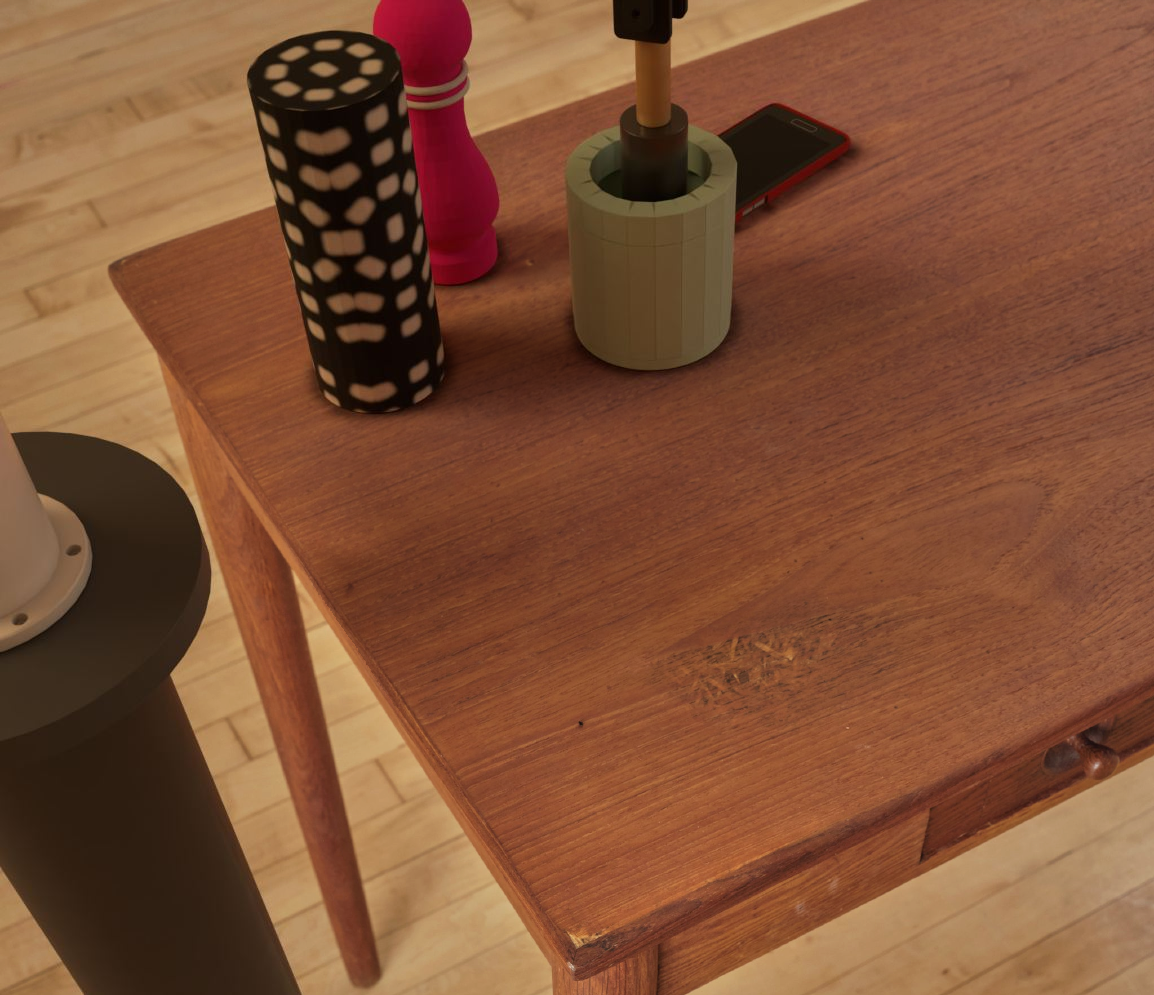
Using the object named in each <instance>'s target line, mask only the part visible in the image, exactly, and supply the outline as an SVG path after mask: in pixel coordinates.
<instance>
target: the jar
mask: <svg viewBox="0 0 1154 995" xmlns="http://www.w3.org/2000/svg"><path fill="white" fill-rule="evenodd" d="M736 178H737V162H736V159H735V157H734V155H733V152H732V150H731V148H730V147H729V146H728V145H727V144H726V143H724V142H723V141H722V140H721V139H720V138H719V137H718V136H717V134H714V133H712V132H709V131H707V130H705V129H703V128H700V127H698V126H696V125H693V124H692V125H691V124H688V194H687V195H685V196H682V197H679V198H676V199H673V200H667V201H660V202H632V201H628V200H624V199H622V183H621V152H620V124H618V125H614V126H611V127H608V128H606V129H602V130H600V131H598V132H596V133H594V134H593V135H591V136H589V137H588V138H587V139H584V140H583V141H581V142H580V143H578V145H577V146H576V147H575V148H574V149H573V151H572V152H571V153H570V154H569V155H568V158H567V161H566V165H565V169H564V184H565V186H564V188H565V202H566V220H567V236H568V251H569V252H568V253H569V254H568V255H569V267H570V268H569V269H570V284H571V285H570V286H571V298H572V299H571V302H572V315H573V320H574V323H573V324H574V330H575V333H576V335H577V338H578V340H579V342H580V343H581V345H583V347H584V348H585V349H586V350H587V351H588V352H589V353H591V354H592V355H593V356H595V357H596V358H598V359H599V360H601V361H604V362H606V363H608V364H611V365H614V366H617V367H621V368H624V369H630V370H637V371H662V370H670V369H675V368H680V367H683V366H687V365H689V364H692V363H695V362H697V361H699V360H701V359H703V358H705V357H706V356H708V355H709V354H711V353H712V352H714V351H715V350H716V349H717V348H718V347H719V346H720V345H721V344H722V342H723V341H724V340H725V338H726V336H727V335H728V332H729V330H730V326H731V313H732V302H733V298H732V297H733V278H734V277H733V276H734V275H733V274H734V252H735V251H734V250H735V229H736V228H735V227H736V226H735V225H736V223H735V203H736Z"/></svg>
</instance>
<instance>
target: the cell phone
mask: <svg viewBox="0 0 1154 995" xmlns="http://www.w3.org/2000/svg"><path fill="white" fill-rule="evenodd" d="M716 136H718V137H719V138H720V139H721V140H722V141H723V142H724V143H726V144H727V145H728V146H729V147H730V148H731V150H732V152H733V155H734V157H735V159H736V162H737V178H736V203H735V224H737V223H738V222H740V221H742V219H743V218H745V217H746V216H748V215H749V214H751V213H752V212H754V211H755V210H756V209H759V208H760V207H762V205H765V204H768V203H770V202H772V201H773V200H774V199H776V198H778V197H779V196H781V195H782V194H785V192H787V191H788V190H790V189H791V188H793V187H795V186H796V185H798V184H799V183H801V182H802V181H804V180H805V179H807V178H808V177H810V176H812V175H814V174H815V173H816V172H818V171H819V170H821V169H822V168H824V167H825V166H827V165H829V164H830V163H832V162H833V161H835V160H836V159H838V158H839V157H841V156H842V155H843V154H845V153H846V152H847V151H848V150H849V149H850V145H851V138H850V136H849V135H848V134H847V133H845V132H843V131H842V130H839V129H838V128H836V127H833V126H832V125H829V124H827V123H825V122H822V121H820V120H818V119H816V118H814V117H812V116H809V115H807V114H805V113H803V112H800V111H799V110H796V109H795V108H792V107H790V106H788V105H786V104H782V103H779V102H772V103H769V104H767V105H765V106H763V107H761V108H759V109H758V110H756V111H755V112H753V113H751V114H749V115H748V116H746V117H744V118H743V119H741V120H739V121H738V122H736V123H735V124H733V125H732V126H730V127H728V128H727V129H725V130H723V131H721V132H720V133H718V134H716Z"/></svg>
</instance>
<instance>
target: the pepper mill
mask: <svg viewBox="0 0 1154 995" xmlns="http://www.w3.org/2000/svg"><path fill="white" fill-rule="evenodd" d="M372 35H374V36H376V37H379V38H381V39H383V40H385V41H387V42H388V43H390V44H391V45H392V46H393V47H394V48H395V49H396V50H397V52H398V54H399V56H400V59H401V66H402V73H403V80H404V86H405V93H406V100H407V107H408V113H409V120H410V127H411V134H412V140H413V147H414V154H415V161H416V168H417V174H418V181H419V188H420V195H421V201H422V208H423V215H424V222H425V228H426V235H427V242H428V249H429V255H430V262H431V269H432V276H433V282H434V285H444V286H452V285H459V284H460V285H461V284H464V283H468V282H472V281H475V280H476V279H478V278H480V277H482V276H484V275H486V274H487V273H488V272H489V271H490V270H491V269H493V267H494V266H495V264H496V261H497V259H498V253H499V252H498V244H497V243H498V242H497V232H496V228H495V227H494V226H493V223H494V221H495V220H496V219H497V216H498V214H499V209H500V203H501V202H500V195H499V190H498V185H497V182H496V177H495V176H494V173H493V171H492V169H491V167H490V165H489V163H488V161H487V159H486V158H485V157H484V154H483V153H482V152H481V151H480V149H479V147H478V146H477V144H476V142H475V141H474V139H473V137H472V135H471V132H470V130H469V127H468V122H467V118H466V112H465V96H466V95H467V94H468V92H469V90H470V86H471V80H470V77H469V76H468V74H469V65H468V62H467V60H465V58H466V56H467V54H468V53H469V50H470V48H471V45H472V41H473V28H472V21H471V17H470V12H469V11H468V8H467V7H466V4H465V3H464V1H463V0H379V2H378V4H377V5H376V8H375V11H374V13H373V21H372Z"/></svg>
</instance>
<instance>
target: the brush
mask: <svg viewBox="0 0 1154 995" xmlns="http://www.w3.org/2000/svg"><path fill="white" fill-rule="evenodd" d="M634 58H635V59H634V63H635V64H634V66H635V67H634V68H635V69H634V70H635V102H636V103H635V104H633V105H631V106H629V107H627V108H626V109H625V110H624V111H623V112H622V113H621V114H620V117H619V125H620V152H621V183H622V199H624V200H628V201H632V202H660V201H667V200H673V199H676V198H679V197H682V196H685V195H687V194H688V125H689V116H688V113H687V111H686V110H685V109H684V108H683V107H681V105H678V104H676V103H674V102H672V37H671V38H670V40H669V41H668V43H666V44H657V43H650V42H642V41H635V40H634Z"/></svg>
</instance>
